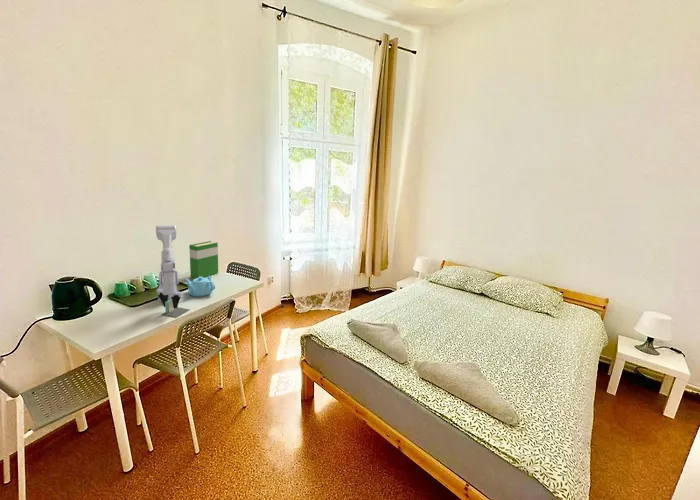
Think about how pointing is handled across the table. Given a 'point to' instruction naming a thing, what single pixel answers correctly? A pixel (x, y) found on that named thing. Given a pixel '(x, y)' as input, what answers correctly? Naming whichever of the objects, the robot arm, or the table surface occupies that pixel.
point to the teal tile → (169, 306)
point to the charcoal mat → (176, 312)
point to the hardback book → (203, 259)
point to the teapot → (200, 286)
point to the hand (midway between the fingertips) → (170, 307)
